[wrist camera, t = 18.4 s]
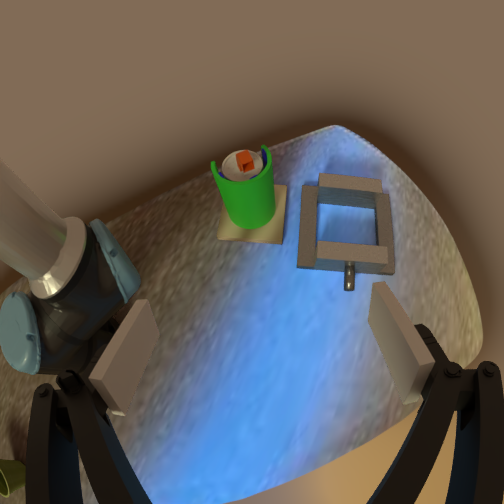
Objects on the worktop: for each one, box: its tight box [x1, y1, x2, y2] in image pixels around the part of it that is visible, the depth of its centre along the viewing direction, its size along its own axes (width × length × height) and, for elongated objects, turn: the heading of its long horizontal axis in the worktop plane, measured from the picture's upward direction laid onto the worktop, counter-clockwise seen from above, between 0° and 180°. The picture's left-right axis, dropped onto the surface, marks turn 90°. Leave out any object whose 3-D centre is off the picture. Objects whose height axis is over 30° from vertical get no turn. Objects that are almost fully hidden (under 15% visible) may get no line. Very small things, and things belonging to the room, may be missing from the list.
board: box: [217, 185, 287, 244], centre depth 55 cm, size 12×12×2 cm
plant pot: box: [0, 459, 26, 497], centre depth 31 cm, size 12×12×11 cm
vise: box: [297, 173, 395, 291], centre depth 49 cm, size 18×21×6 cm
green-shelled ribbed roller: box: [211, 145, 276, 229], centre depth 46 cm, size 9×8×18 cm
